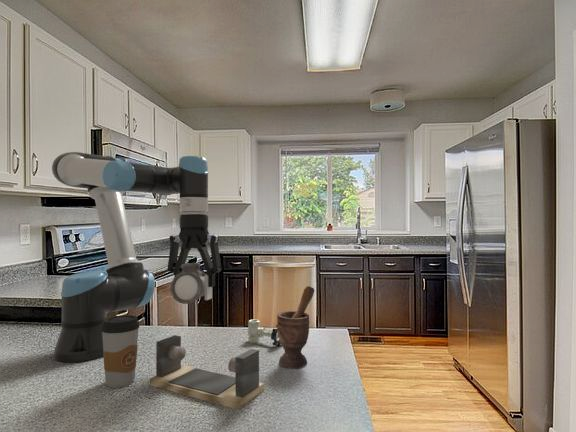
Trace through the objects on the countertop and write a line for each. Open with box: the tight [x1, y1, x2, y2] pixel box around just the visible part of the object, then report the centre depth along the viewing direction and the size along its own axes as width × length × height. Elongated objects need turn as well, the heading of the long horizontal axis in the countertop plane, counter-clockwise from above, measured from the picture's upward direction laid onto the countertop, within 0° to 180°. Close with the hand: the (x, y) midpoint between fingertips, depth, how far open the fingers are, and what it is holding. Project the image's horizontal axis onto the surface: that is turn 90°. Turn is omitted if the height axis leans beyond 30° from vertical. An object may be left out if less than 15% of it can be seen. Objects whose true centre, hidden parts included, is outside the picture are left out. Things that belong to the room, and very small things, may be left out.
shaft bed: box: [149, 335, 265, 410], centre depth 87 cm, size 25×10×10 cm, turn 62°
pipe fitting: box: [170, 262, 205, 305], centre depth 103 cm, size 12×8×10 cm
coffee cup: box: [101, 314, 140, 389], centre depth 90 cm, size 8×8×15 cm
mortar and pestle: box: [276, 285, 315, 369], centre depth 103 cm, size 12×9×20 cm
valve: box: [247, 318, 282, 348], centre depth 119 cm, size 7×7×12 cm
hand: (194, 298), depth 102 cm, fingers closed on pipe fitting, 7 cm apart
